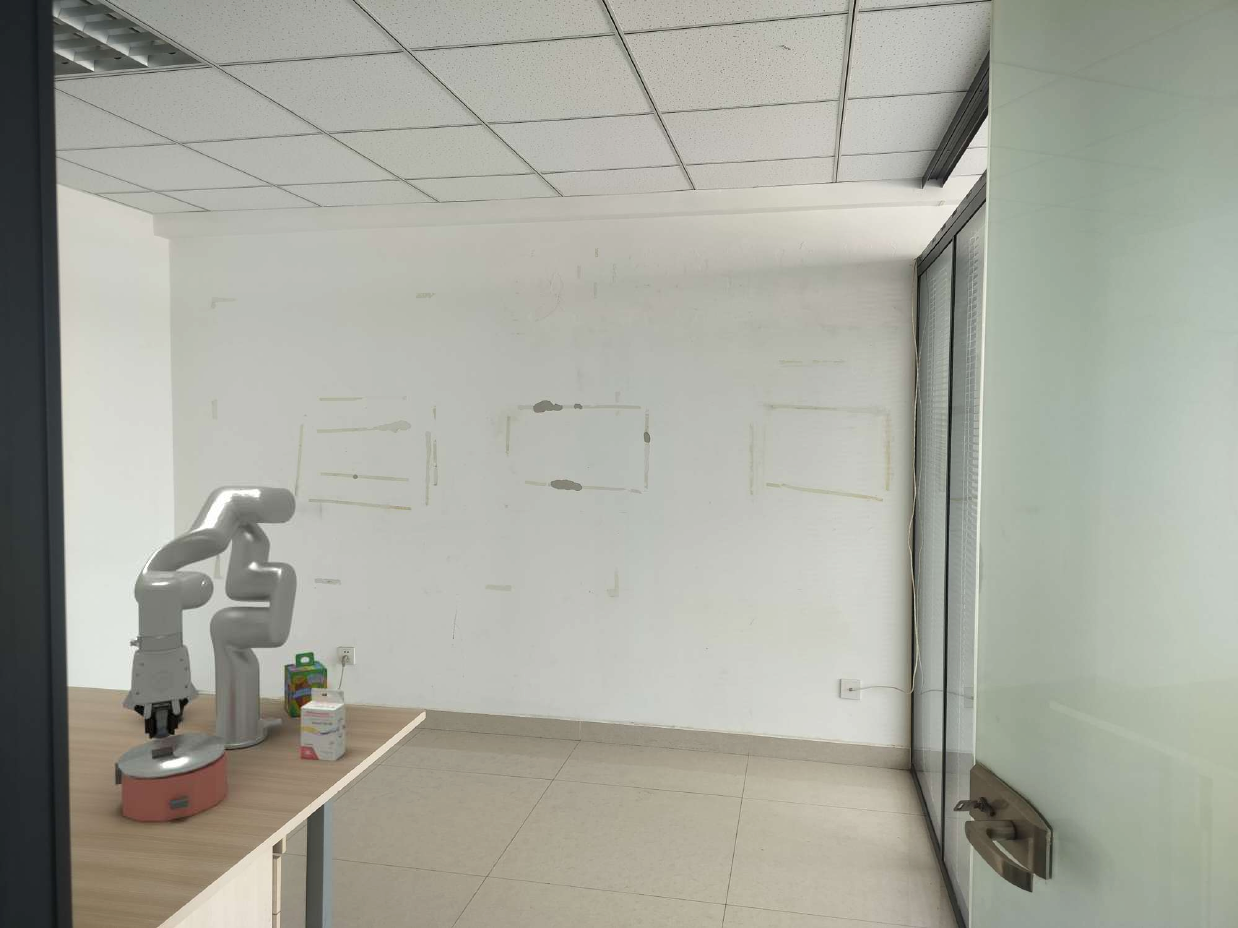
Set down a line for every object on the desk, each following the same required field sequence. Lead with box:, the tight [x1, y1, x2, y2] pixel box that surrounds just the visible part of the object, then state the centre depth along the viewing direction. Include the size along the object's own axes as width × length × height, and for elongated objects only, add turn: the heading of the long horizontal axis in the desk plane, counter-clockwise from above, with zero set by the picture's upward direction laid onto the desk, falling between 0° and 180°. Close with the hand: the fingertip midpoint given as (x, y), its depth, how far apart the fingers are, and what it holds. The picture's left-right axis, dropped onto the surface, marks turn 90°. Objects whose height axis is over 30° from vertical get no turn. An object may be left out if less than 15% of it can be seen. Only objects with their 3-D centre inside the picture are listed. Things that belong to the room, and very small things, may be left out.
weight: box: [153, 703, 171, 740], centre depth 163 cm, size 3×3×6 cm
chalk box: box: [283, 651, 328, 717], centre depth 217 cm, size 9×9×15 cm
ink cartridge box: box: [300, 688, 346, 762], centre depth 187 cm, size 9×5×15 cm, turn 81°
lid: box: [114, 733, 226, 778], centre depth 164 cm, size 19×19×2 cm
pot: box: [114, 750, 228, 822], centre depth 164 cm, size 19×22×8 cm
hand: (161, 733), depth 163 cm, fingers closed on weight, 3 cm apart
